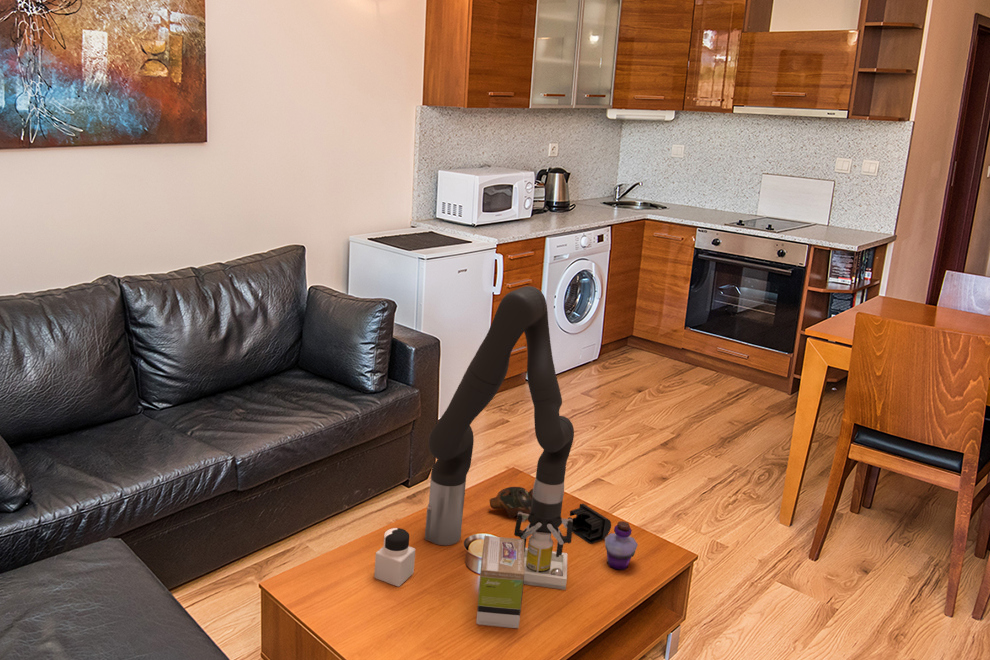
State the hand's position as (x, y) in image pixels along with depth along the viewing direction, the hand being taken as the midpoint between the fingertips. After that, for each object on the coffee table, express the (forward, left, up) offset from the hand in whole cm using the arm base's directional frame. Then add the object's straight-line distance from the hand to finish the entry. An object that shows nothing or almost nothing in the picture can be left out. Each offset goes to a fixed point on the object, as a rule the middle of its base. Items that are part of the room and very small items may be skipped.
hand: (540, 553), depth 211 cm
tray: (0, 0, -6) cm, 6 cm away
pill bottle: (0, 0, -5) cm, 5 cm away
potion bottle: (+21, +9, -6) cm, 23 cm away
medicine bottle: (-35, -10, -6) cm, 37 cm away
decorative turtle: (-8, +29, -6) cm, 31 cm away
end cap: (+13, +23, -6) cm, 27 cm away
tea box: (-9, -17, -6) cm, 20 cm away
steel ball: (+5, -4, -5) cm, 7 cm away
